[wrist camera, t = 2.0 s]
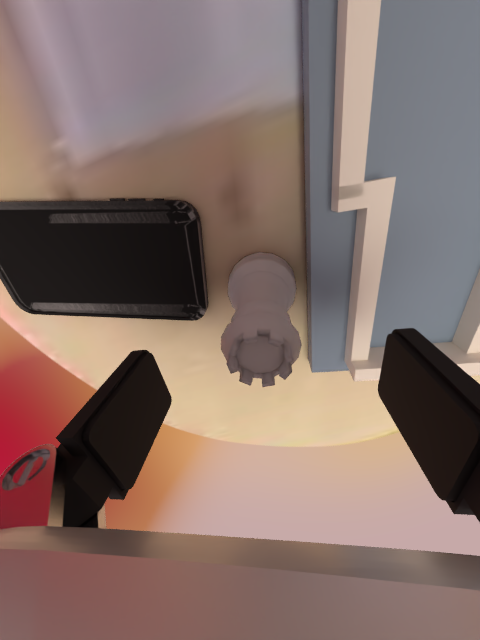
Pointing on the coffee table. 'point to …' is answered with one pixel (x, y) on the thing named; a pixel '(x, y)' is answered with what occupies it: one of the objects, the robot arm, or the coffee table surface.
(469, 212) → the keyhole board
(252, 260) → the rook chess piece
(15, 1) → the coffee table surface
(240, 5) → the coffee table surface
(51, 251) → the phone
